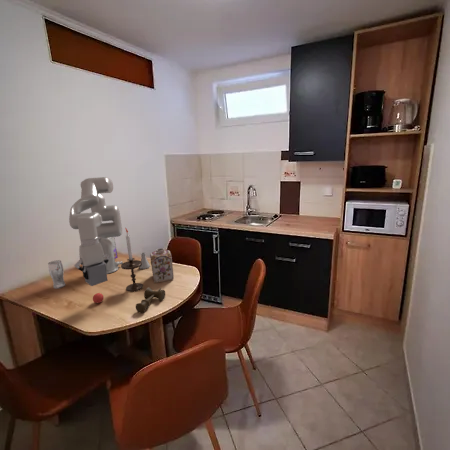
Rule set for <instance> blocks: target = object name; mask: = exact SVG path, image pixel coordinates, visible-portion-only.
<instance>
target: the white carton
mask: <svg viewBox="0 0 450 450" xmlns="http://www.w3.org/2000/svg"><path fill="white" fill-rule="evenodd" d="M115 238H116V237H110V238H108V239H109V240H110V241H111V242H112V245H113V251H114V258H115V260H116V259H117V258H119V256H118V251H117V245H116V239H115Z"/></svg>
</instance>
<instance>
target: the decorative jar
mask: <svg viewBox="0 0 450 450" xmlns="http://www.w3.org/2000/svg"><path fill="white" fill-rule="evenodd" d="M149 258H150V267H151V272H152V277H153V278H152V279H153V283H154V284H155V282H156V283H161V281H162V282H167V280H168V281H172V279H173V280H174V279H175V278H174V267H173V266H174V265H173V259H172V258H173V257H172V253H171V251H170V250H168V249H165V248H164V247H163V248H162V247H160V248H156V249H155V250H154V251H152V252H151V253H149Z"/></svg>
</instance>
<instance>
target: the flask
mask: <svg viewBox="0 0 450 450" xmlns="http://www.w3.org/2000/svg"><path fill="white" fill-rule="evenodd" d="M146 254H147V253H146V252H140V255H141V257H140V259H141V260H140V261H141V262H142V265H141V266H140V267H138V268H139V270H145V269H146V268H147V269H149V268H150V267H151V264H150V263H149V261H148V259H147V256H146Z"/></svg>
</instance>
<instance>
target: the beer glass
mask: <svg viewBox="0 0 450 450" xmlns="http://www.w3.org/2000/svg"><path fill="white" fill-rule="evenodd" d="M47 266H48V267H47V268H48V272H49V275H50V277H51V279H52V282H53V283H52V284H53V289H55V290H56V289H57V290H59V289H62V288H65V287H66V283H65V280H64V279H65V278H64V266H63V263H62V260H60V259H57V260H52V261H50V262H48V263H47Z"/></svg>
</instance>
